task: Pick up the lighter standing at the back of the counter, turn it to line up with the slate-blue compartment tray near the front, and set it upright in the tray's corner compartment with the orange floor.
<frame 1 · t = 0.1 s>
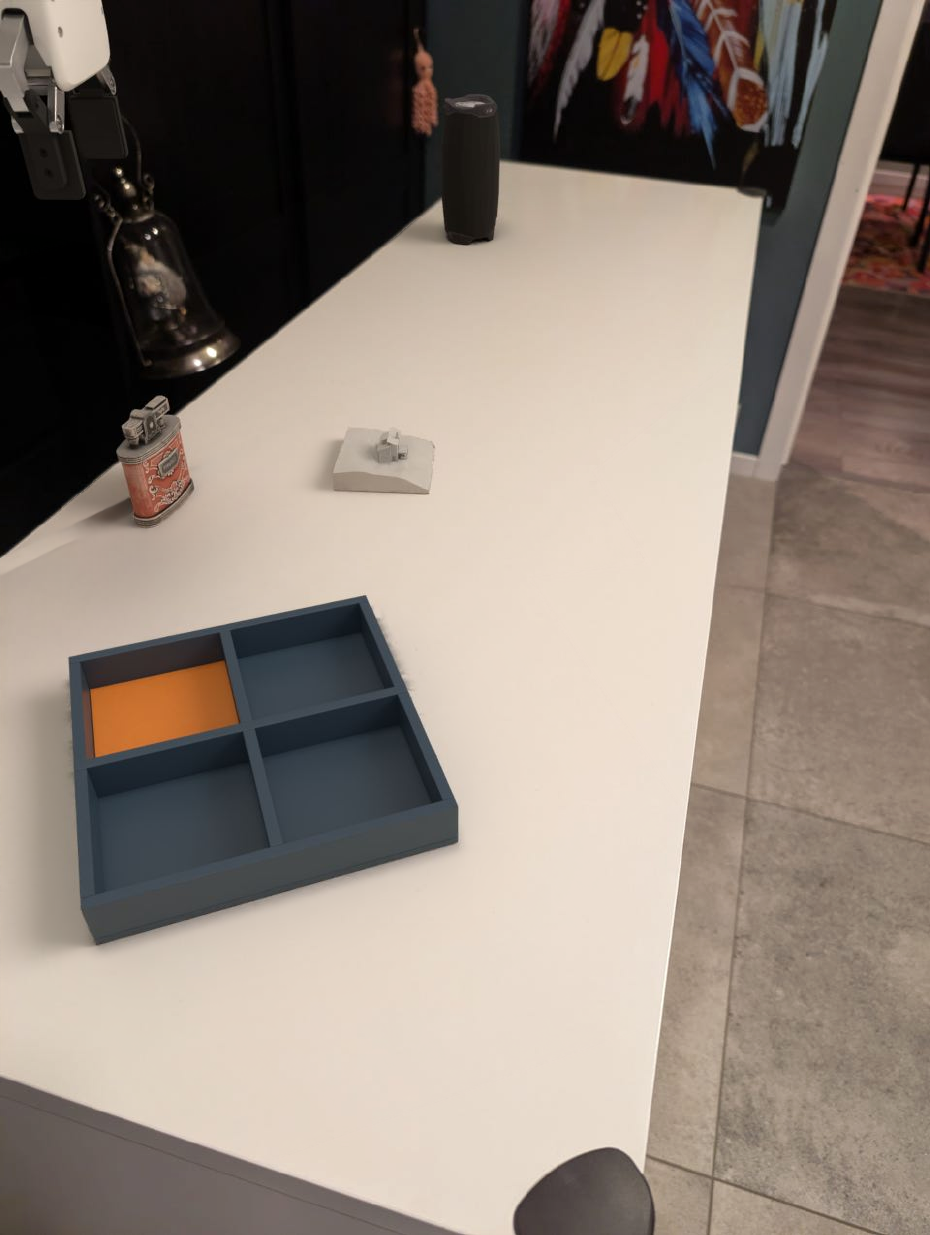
hand: (85, 176, 66), 32 cm above the table, tool pointing down, fingers open, 9 cm apart
tray: (254, 761, 67), on the table
lighter: (165, 506, 92), on the table
miniature house: (385, 467, 98), on the table
portable speaker: (469, 238, 152), on the table
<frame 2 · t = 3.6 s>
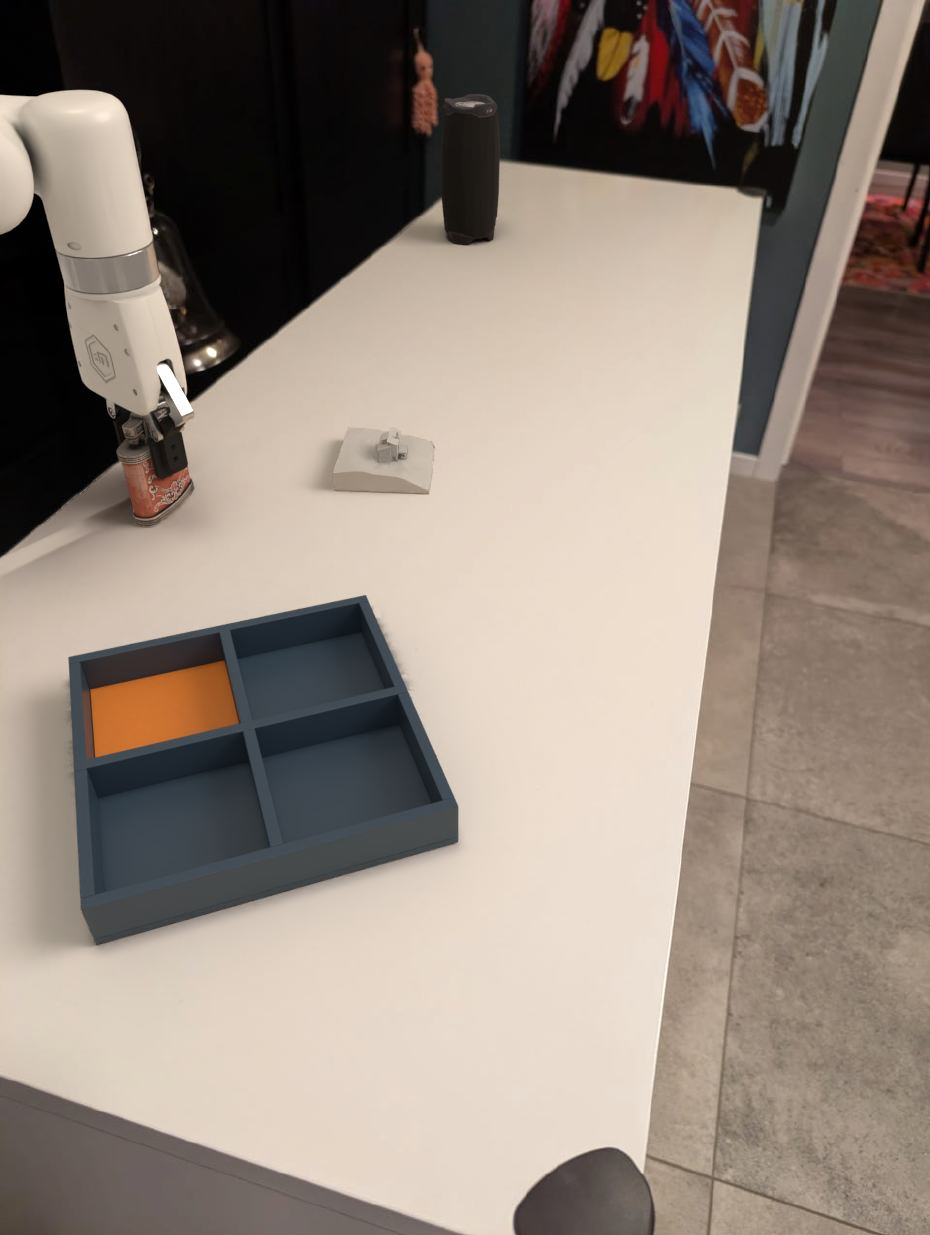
hand: (155, 461, 89), 5 cm above the table, tool pointing down, fingers closed on lighter, 4 cm apart
lighter: (165, 506, 92), on the table, touching gripper
everything else where it was.
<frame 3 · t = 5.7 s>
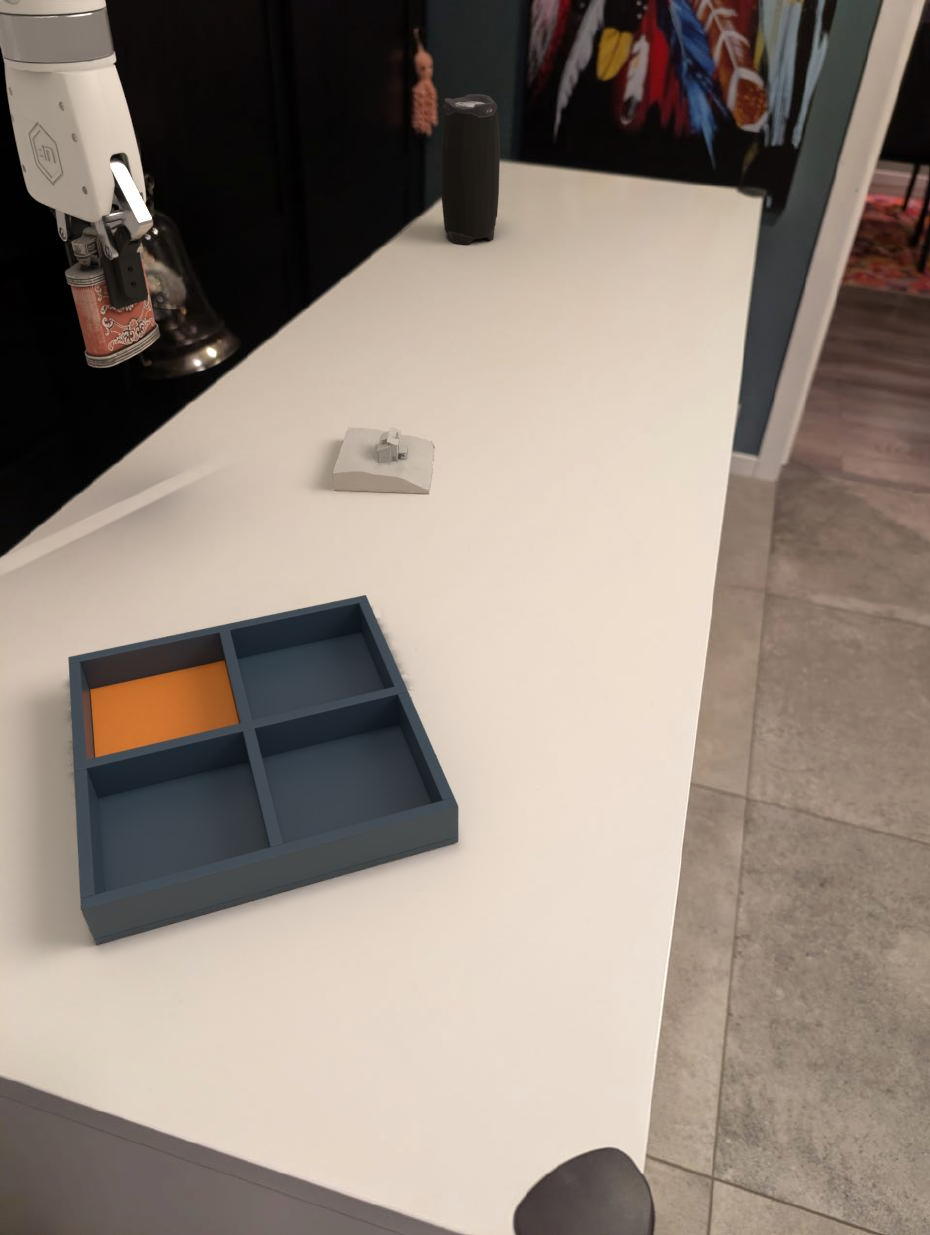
hand: (111, 293, 79), 21 cm above the table, tool pointing down, fingers closed on lighter, 4 cm apart
lighter: (124, 350, 82), point 16 cm above the table, touching gripper
everything else where it was.
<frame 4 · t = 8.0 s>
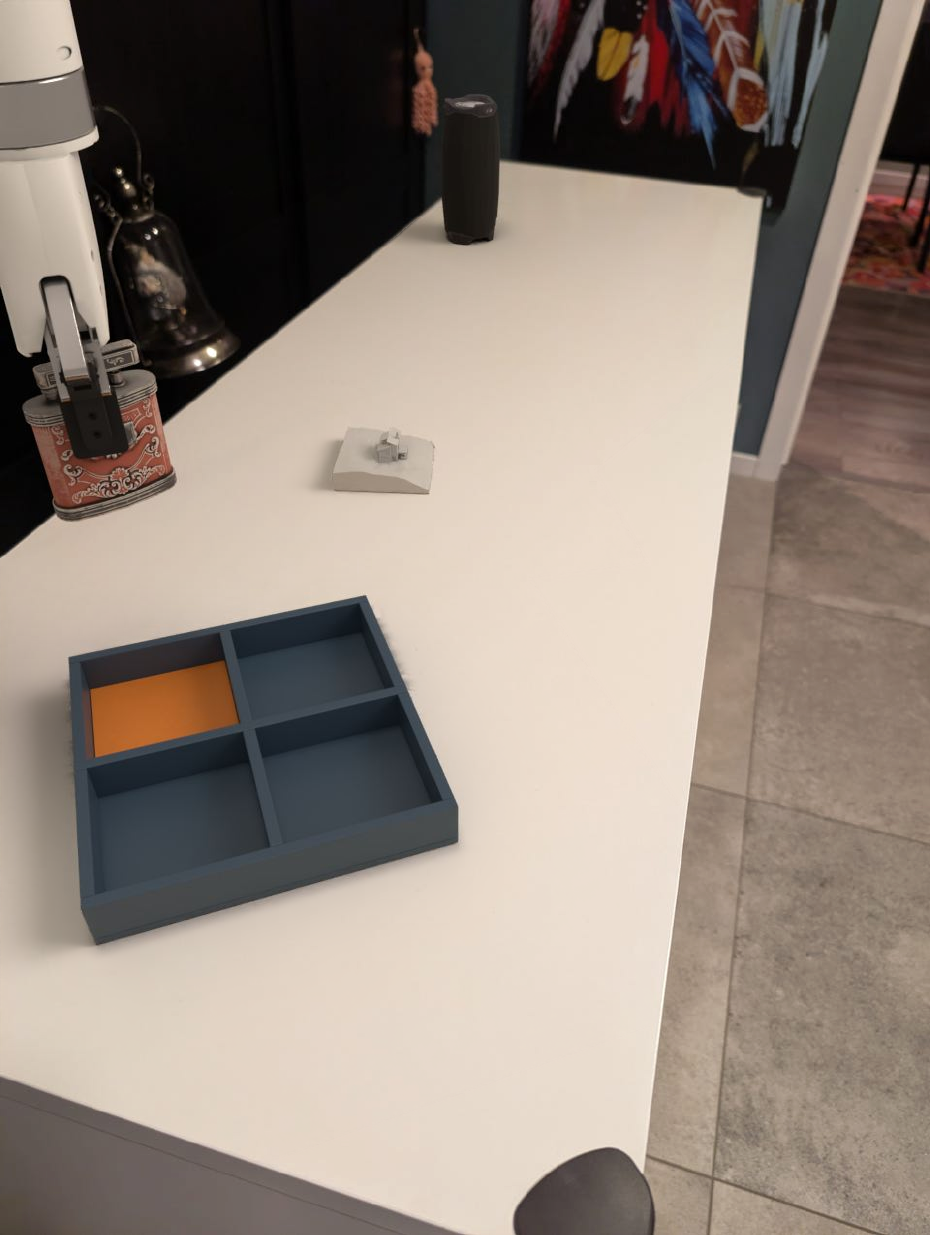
hand: (99, 431, 60), 21 cm above the table, tool pointing down, fingers closed on lighter, 4 cm apart
lighter: (118, 498, 63), point 16 cm above the table, touching gripper
everything else where it was.
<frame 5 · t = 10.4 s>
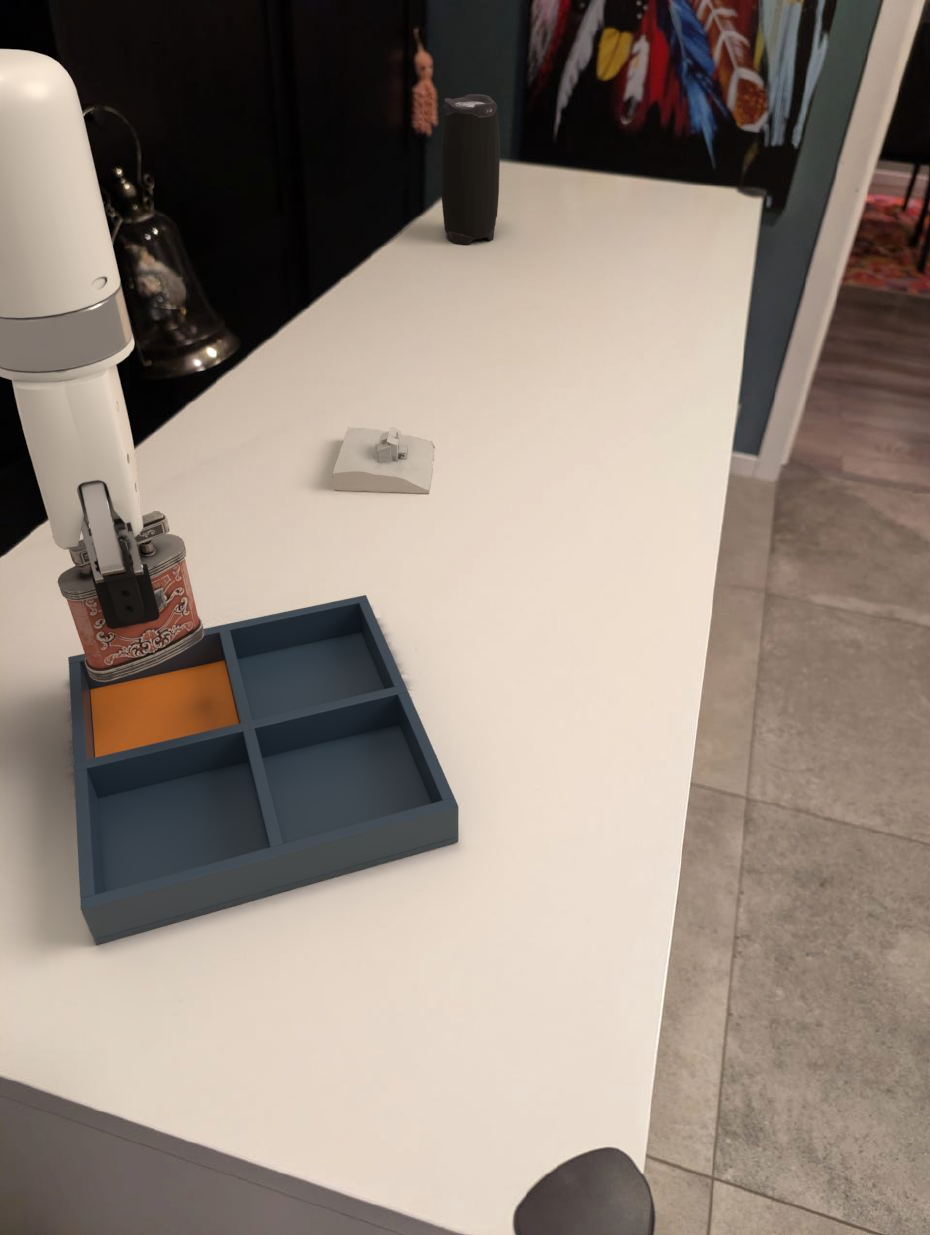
hand: (130, 596, 62), 12 cm above the table, tool pointing down, fingers closed on lighter, 4 cm apart
lighter: (148, 652, 65), point 7 cm above the table, touching gripper
everything else where it was.
when the fingers open (6 cm above the table, at t = 12.2 s): lighter stays where it is, resting on tray.
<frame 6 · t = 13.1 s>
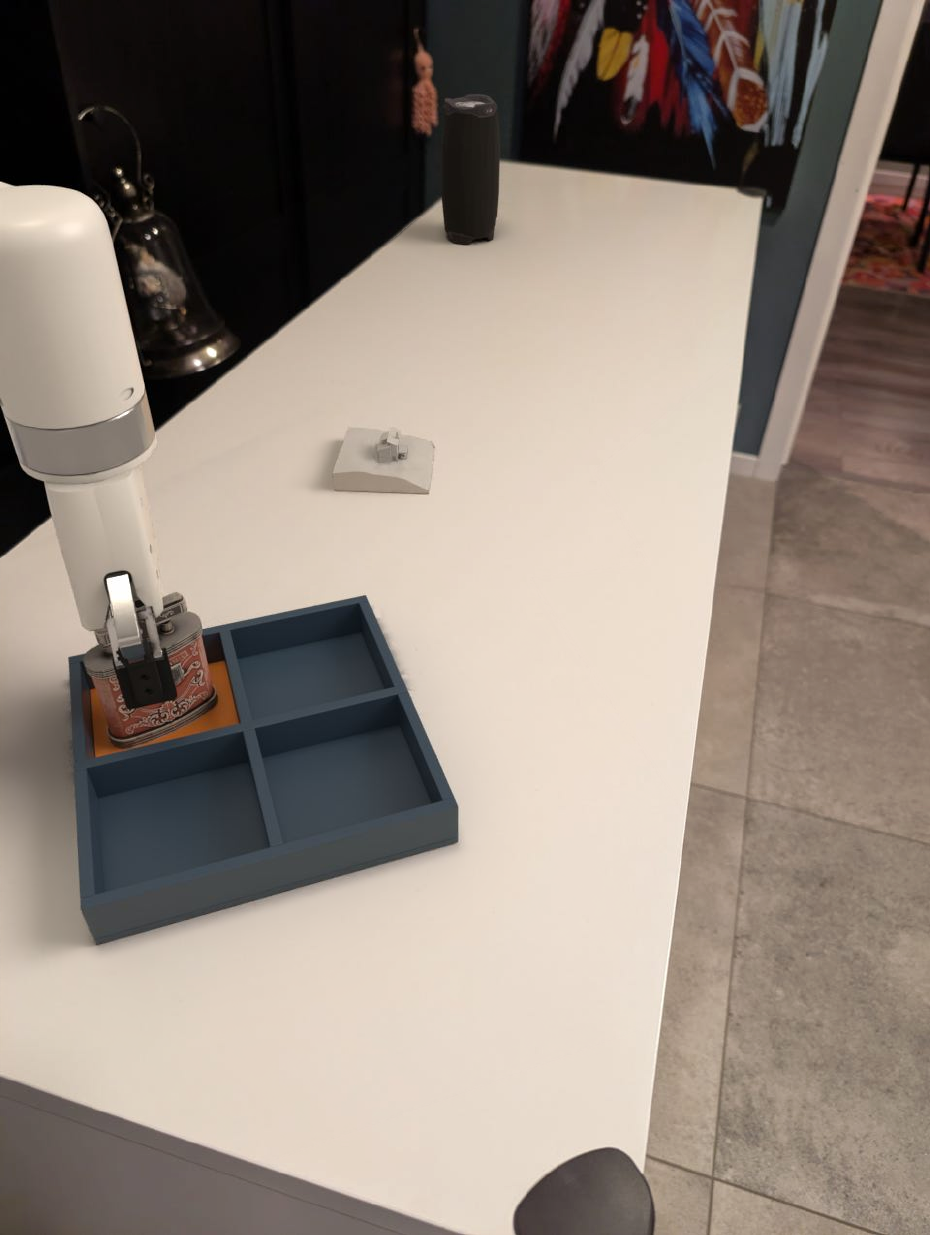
hand: (145, 653, 65), 7 cm above the table, tool pointing down, fingers open, 9 cm apart
lighter: (165, 719, 69), point 1 cm above the table, touching tray
everything else where it was.
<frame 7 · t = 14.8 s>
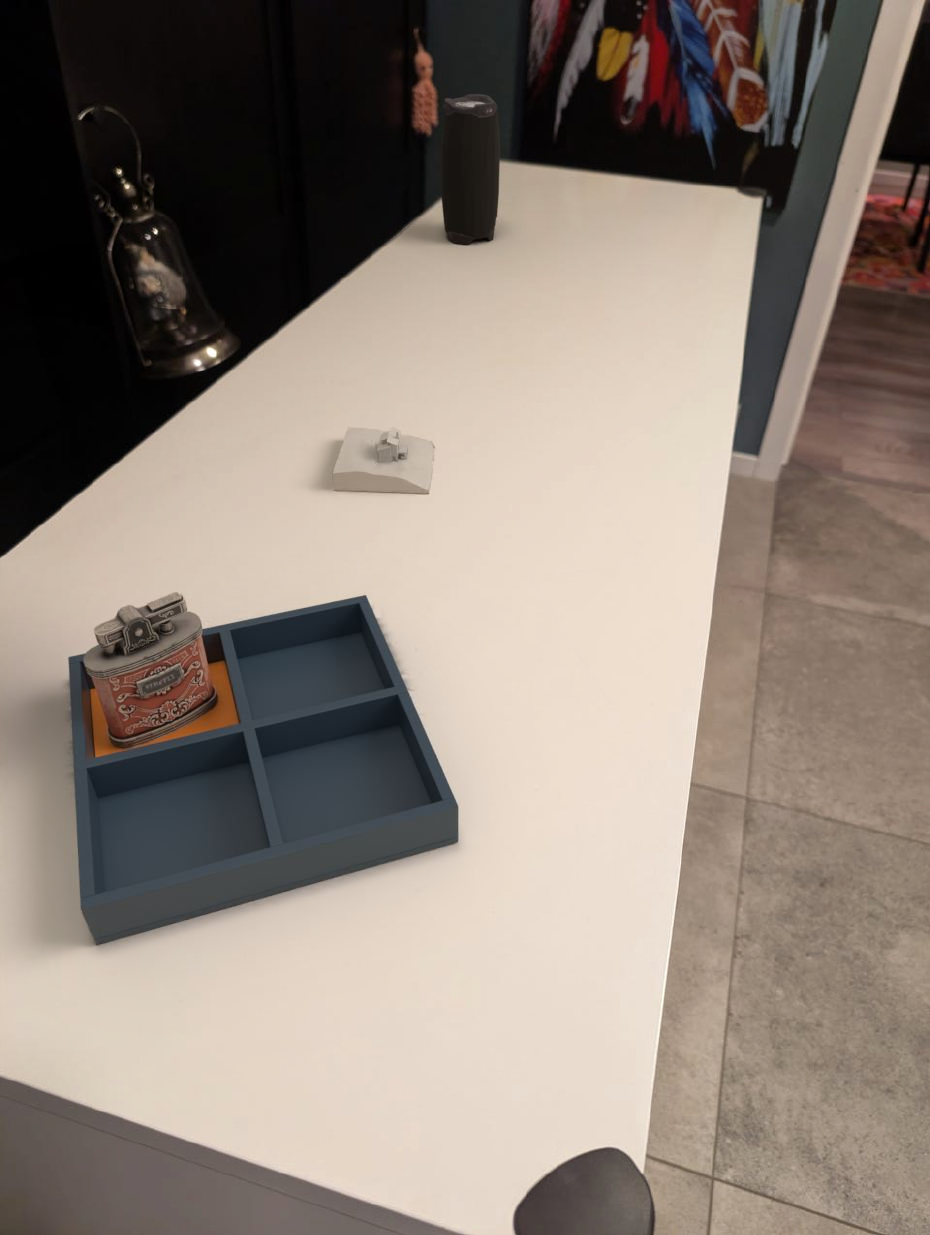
nothing on the table moved.
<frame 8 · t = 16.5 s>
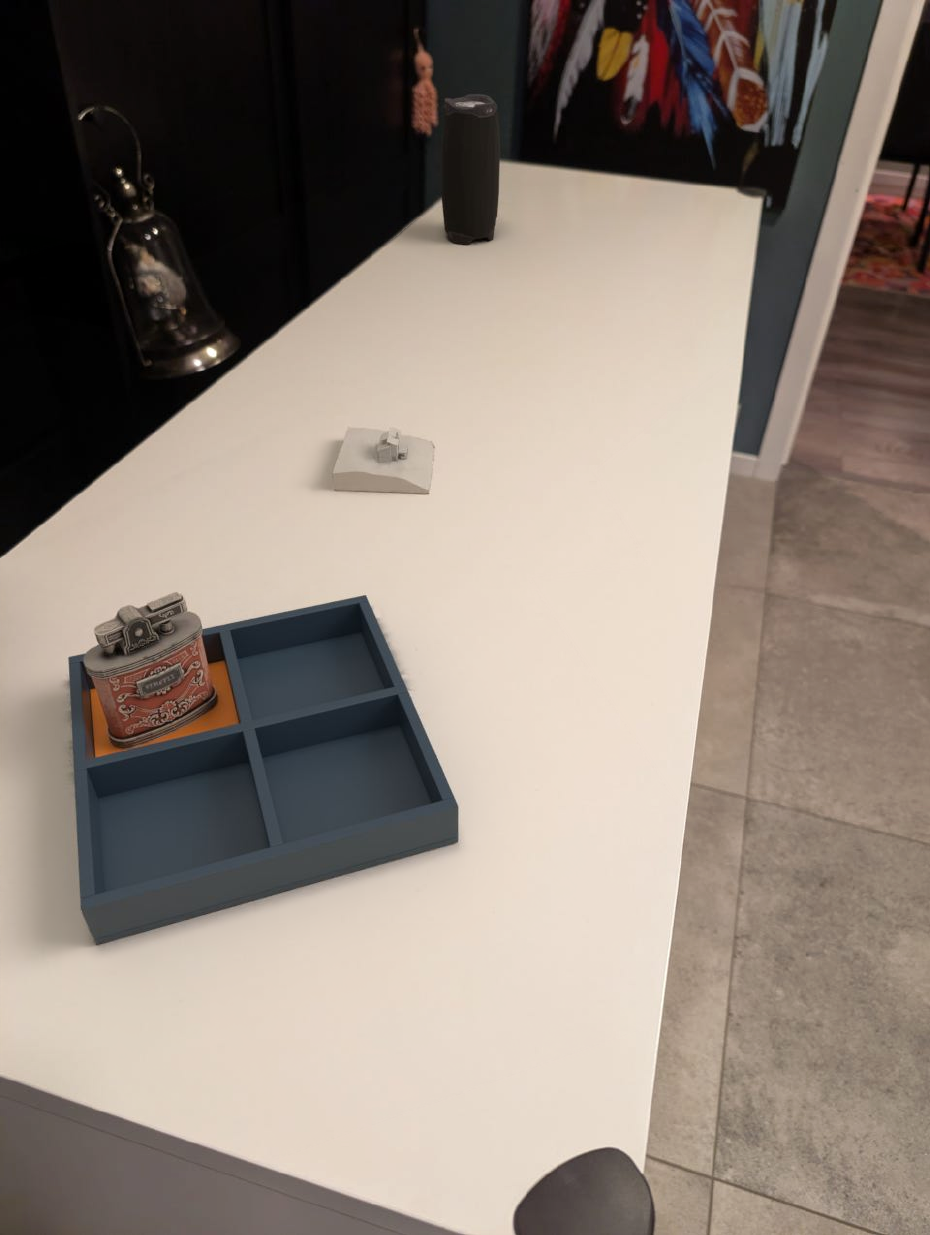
nothing on the table moved.
at the end: lighter inside the target area in the tray (0.1 cm from its centre), point 0.6 cm above the tray's base; lighter tilted 0°; the gripper is holding nothing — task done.
